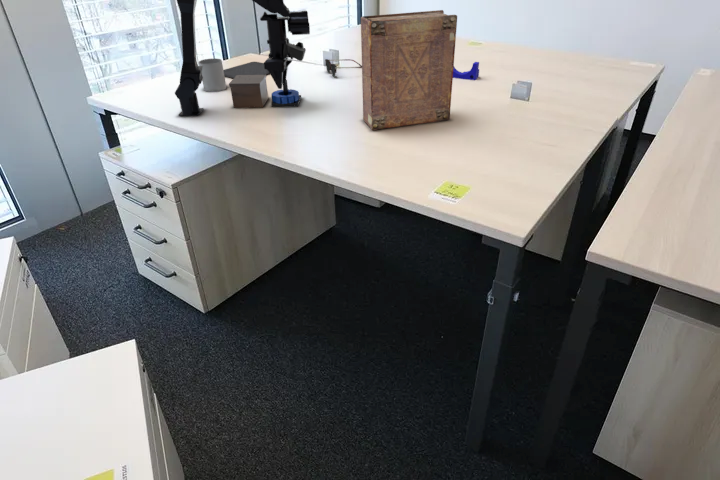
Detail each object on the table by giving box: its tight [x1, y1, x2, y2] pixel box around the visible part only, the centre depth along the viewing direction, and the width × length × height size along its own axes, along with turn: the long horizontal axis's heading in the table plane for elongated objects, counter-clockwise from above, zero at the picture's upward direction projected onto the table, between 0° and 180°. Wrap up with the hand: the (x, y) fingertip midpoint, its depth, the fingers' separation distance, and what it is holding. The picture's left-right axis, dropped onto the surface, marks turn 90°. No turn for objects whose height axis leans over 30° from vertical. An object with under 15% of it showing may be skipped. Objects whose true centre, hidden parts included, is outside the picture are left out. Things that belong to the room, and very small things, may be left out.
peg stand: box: [271, 79, 302, 108], centre depth 165 cm, size 9×9×8 cm
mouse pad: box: [223, 61, 270, 79], centre depth 202 cm, size 23×20×1 cm
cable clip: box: [453, 61, 480, 81], centre depth 186 cm, size 12×4×6 cm, turn 62°
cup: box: [198, 58, 227, 93], centre depth 180 cm, size 8×8×10 cm
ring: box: [270, 88, 300, 104], centre depth 165 cm, size 9×9×2 cm
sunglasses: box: [324, 58, 362, 78], centre depth 196 cm, size 14×16×5 cm
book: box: [360, 9, 458, 131], centre depth 141 cm, size 25×9×30 cm, turn 107°
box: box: [228, 75, 269, 109], centre depth 165 cm, size 10×10×8 cm
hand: (282, 86), depth 159 cm, fingers open, 6 cm apart
